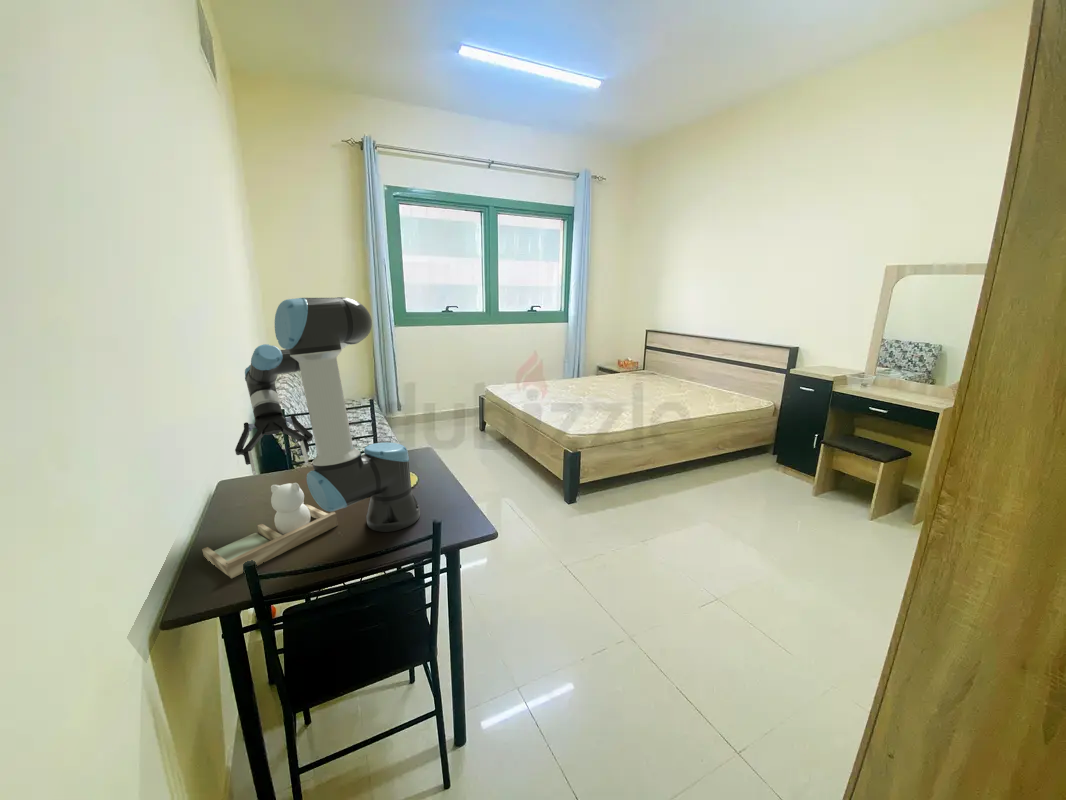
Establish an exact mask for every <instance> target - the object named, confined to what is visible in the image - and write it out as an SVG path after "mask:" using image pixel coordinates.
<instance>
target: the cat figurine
mask: <svg viewBox="0 0 1066 800" xmlns="http://www.w3.org/2000/svg"><path fill="white" fill-rule="evenodd" d="M270 490H271V493H272V494H271V497H270V503H271V504H270V505H271V506H272V508H273V510H274V511H276V513H275V515H274V519H273V520H274V525H275V528H276V530H277V532H278V533H280V534H281V535H284V534H286V533H288V532H291V531H293V530H295V529H297V528H299V527H301V526H303V525H306V524H308V523H310V522H311V517H312V516H310V512H309V509H308V507H307V506H306V504H304V503H305V502H304V500H305V494H304V491H303V490H302V488H301V487H300V485H299V483H297V482H293V483H284V484H280V485H279V484H271V486H270Z"/></svg>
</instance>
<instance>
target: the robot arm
mask: <svg viewBox="0 0 1066 800" xmlns="http://www.w3.org/2000/svg"><path fill="white" fill-rule="evenodd" d="M372 327H373V322H372V316H371V314H370V312H369V311H368V309H367V308H366V307H365V306H364V305H363V304H362V303H361V302H359V301H357V300H355V299H353V298H350V297H346V296H345V297H343V296H341V297H297V298H288V299H284V300H282V301H281V302H280V303H279V304H278V306H277V308H276V312H275V315H274V333H275V338H276V340H277V342H278V345H279V346H280V347H281V348H282V349H279V347H277V346H276V345H271V344H261V345H258V346H257V347H256V348H255V349H254V351H253V353H252V356H251V360H250V365H248V366H247V367H245V369H244V380H245V382H246V386H247V390H248V395H249V399H250V404H251V409H252V410H253V411H252V412H253V416H254V417H253V418H254V422H253V423H249V422H244V423H243V430H242V432H241V435H240V437H239V440H238V442H237V445H236V446H235V449H234V452H235V455H236V456H243V458H244V463H245V464H246V465H247V466H248V465H250V468H251V473H252V476H256V475H257V473H256V467H255V463H254V459H253V454H252V453H253V452H252V451H253V449H254V447H256V445H257V444H258V443H259V442H260V440H261V439H262V438H263V437H265V435H266V436H270V435H273V434H274V435H275V434H279V433H282V434H283V435H285V434H286V435H287V436H289V437H291V438H293V439H294V440H296V441H298V442H299V443H300V448H301V453H302V456H303V462H304V464H308V463H309V457H308V454H307V453H309V452H310V446H309V442H312V441H313V440H314V443H315V448H316V456H315V458H314V459H313V460H312V467H313V470H310V471H308V473H306V484H307V487H308V490H309V492H310V495H311V496H312V498H313V499H314V501H315V503H316V504H317V505H318V506H319V507H320V508H321V510H322V509H323V510H324V512H325V511H326V512H327V513H328V512H330V513H331V512H335V511H338V510H341V509H346V508H347V507H349V506H351V505H354V504H357V503H359V502H360V501H363V500H366V499H368V498H370V500H369V504H368V508H367V513H366V516H365V517H366V525H367V527H368V528H369V529H370V530H372V531H375V532H381V533H386V532H387V533H388V532H389V533H391V532H397V531H400V530H403V529H406V528H408V527H410V526H412V525H414V524H415V523H417V521H418V520H419V519H420V517H421V511H420V504H419V503H418V501H417V499H416V497H415V495H414V492H413V491H412V480H411V468H410V458H409V451H408V449H407V448H406V447H407V446H404V445H403V444H400V443H397V442H387V441H385V442H375V443H370V444H369V445H367V446H365V447H364V449H363V453H364V454H361V451H360V450H359V449H357V448H355V447H354V444H353V438H352V433H351V428H350V424H349V418H348V413H347V406H346V403H345V398H344V397H345V395H344V391H343V386H342V380H341V377H340V370H339V366H338V365H339V363H338V359H337V358H338V356H339V355H340V353H341V352H342V350H343V349H344V348H346V347H348V346H349V345H351V346H353V345H357V344H359V343H360V342H362V341H364V339H366V338H367V337H368V336H369V335H370V333H371V331H372ZM298 372H300V375H301V380H302V384H303V390H304V395H305V399H306V404H307V405H306V406H307V409H308V413H309V420H310V424H311V430H312V433H311V431H309V430H308V429H307V428H306V427H305V426H304V425H303V424H301V422H300V421H298V420H297V418H296V415H294V414H291V415H290V417H284V414H283V410H282V406H281V403H280V399H279V395H278V391H277V386H276V379H277V377H278V375H283V374H290V373H298ZM286 423H289V424H290V425H292V426H293V427H294V429H296V430H297V431H296V430H294V429H292V428H290V427H289V426H288V425H286ZM253 429H256V432H255V434H254V435H253V436H252V438H251V439H250V440H249V442H248V443H247V444H246V442H247V441H248V437H249V435H250V432H252V431H253ZM313 438H314V439H313Z"/></svg>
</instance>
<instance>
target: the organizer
mask: <svg viewBox="0 0 1066 800" xmlns="http://www.w3.org/2000/svg"><path fill="white" fill-rule="evenodd" d="M305 505H306V506H307V507H308V509H309V512H310V516H311V517H312V518H314V520H312V521H310V522H309V523H308V524H306V525H303V526H301V527H299V528H297V529H295V530H293V531H291V532H288V533H286V534H284V535H282V534H281V533H280V532H279V531H276V530H274V529H272V528H270V527H269V526H267V525H265V524H263V523H260V524H258V525H256V527H257V531H258V533H257V532H254V533H252V534H249V535H247V536H244V537H243V538H239V539H237V540H235V541H233V542H231V543H229V544H226V545H224V546H222V547H220V548H218V549H215V550H213V549H212V548H210V547H209V546H206V547H204V548H202V549H201V550H202V553H203V558H204V557H205V558H206V559H207V560H206V559H205V558H204V559H205V560H206V561H208V562H209V561H210V562H211V563H210V562H209V563H210V564H212V565H213V566H214V565H215V567H216V568H217V569H218V570H220V571H221V572H222V573H224V574H225V575H226V576H228V577H229V578H230V579H233V578H236V577H237V576H240V575H242V574H243V564H244V563H245V562H247V561H251V560H253V561H255V562H256V564H257V566H256V567H258V566H260V565H262V564H263V562H264V563H266V562H268V561H270V560H272V559H273V558H275V557H277V556H280V555H282V554H283V553H286V552H287V551H290V550H292V549H294V548H296V547H297V546H300V545H302V544H303V543H306V542H308V541H310V540H311V539H314V538H316V537H318V536H319V535H322V534H324V533H325V532H328V531H329V530H332V529H333V528H336V527H338V526H339V524H338V523H339V522H338V517H337V512H335V511H332V512H330V513H328V512H327V511H326V512H325V511H323V510H322V509H318V508H316V507H314V506H312V505H310V504H308V503H306V504H305Z"/></svg>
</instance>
